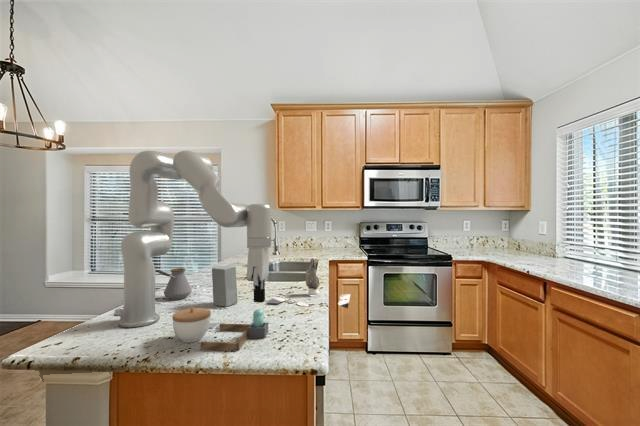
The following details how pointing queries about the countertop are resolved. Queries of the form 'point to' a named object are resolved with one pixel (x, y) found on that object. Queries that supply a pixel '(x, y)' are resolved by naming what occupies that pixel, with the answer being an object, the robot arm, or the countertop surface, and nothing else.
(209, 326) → the space tiles
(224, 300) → the skincare box
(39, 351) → the countertop surface
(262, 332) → the dark grey open box
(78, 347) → the countertop surface
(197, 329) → the lidded jar
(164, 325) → the countertop surface
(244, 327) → the walnut bay
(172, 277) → the coffee pot
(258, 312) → the dome
